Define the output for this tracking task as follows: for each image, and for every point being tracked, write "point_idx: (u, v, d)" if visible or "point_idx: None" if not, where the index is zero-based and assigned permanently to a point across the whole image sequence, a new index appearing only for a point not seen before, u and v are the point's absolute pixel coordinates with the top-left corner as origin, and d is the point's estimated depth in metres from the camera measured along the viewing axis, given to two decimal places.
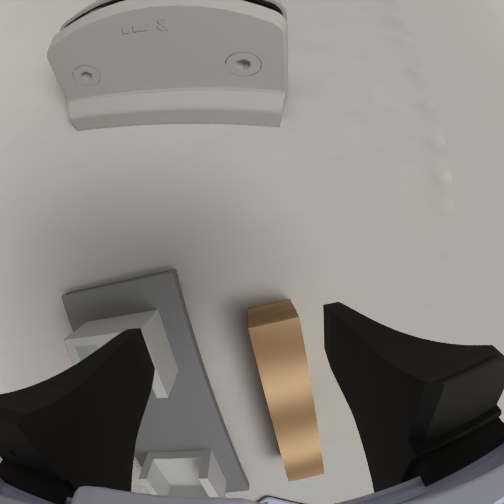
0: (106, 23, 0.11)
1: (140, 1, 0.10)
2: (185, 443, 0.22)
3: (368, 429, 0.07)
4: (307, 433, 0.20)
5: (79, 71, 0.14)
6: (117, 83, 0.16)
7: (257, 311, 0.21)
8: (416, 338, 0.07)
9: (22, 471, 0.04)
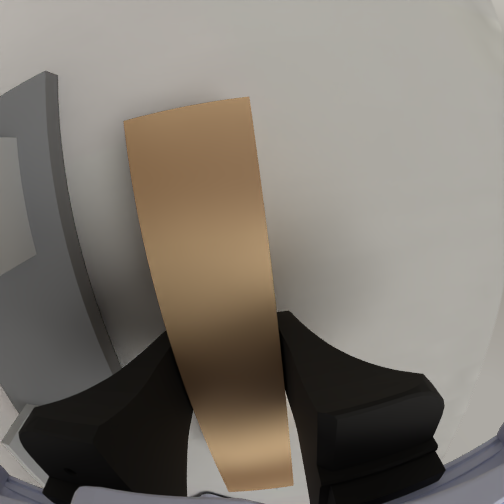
0: None
1: None
2: None
3: (302, 444, 0.07)
4: (262, 415, 0.09)
5: None
6: None
7: None
8: (348, 356, 0.07)
9: None
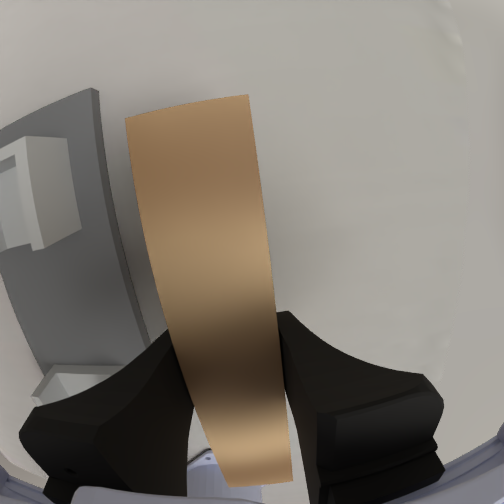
0: None
1: None
2: (93, 352, 0.17)
3: (302, 444, 0.07)
4: (262, 410, 0.10)
5: None
6: None
7: None
8: (347, 356, 0.07)
9: None
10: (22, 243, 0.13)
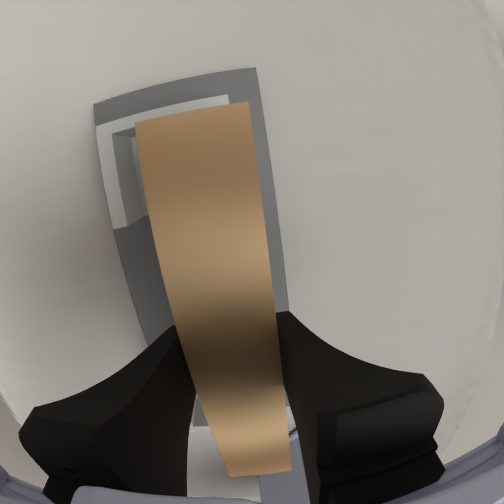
0: None
1: None
2: None
3: (302, 444, 0.07)
4: (261, 397, 0.10)
5: None
6: None
7: None
8: (347, 356, 0.07)
9: None
10: None
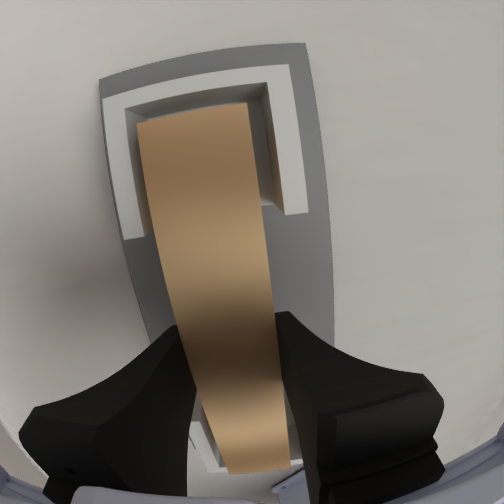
0: None
1: None
2: None
3: (302, 444, 0.07)
4: (260, 393, 0.11)
5: None
6: None
7: None
8: (347, 356, 0.07)
9: None
10: None
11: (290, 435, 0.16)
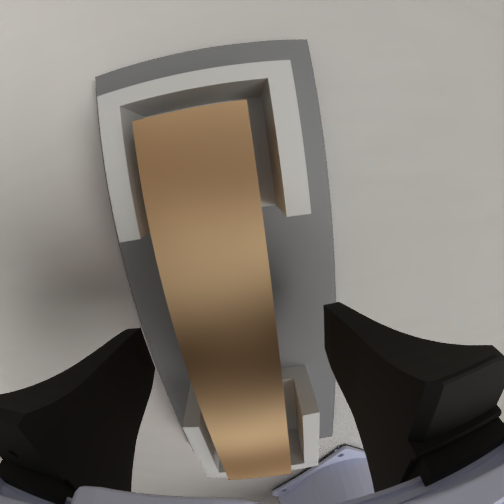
0: None
1: None
2: None
3: (368, 429, 0.07)
4: (260, 399, 0.10)
5: None
6: None
7: None
8: (416, 338, 0.07)
9: (22, 471, 0.04)
10: None
11: (291, 439, 0.15)
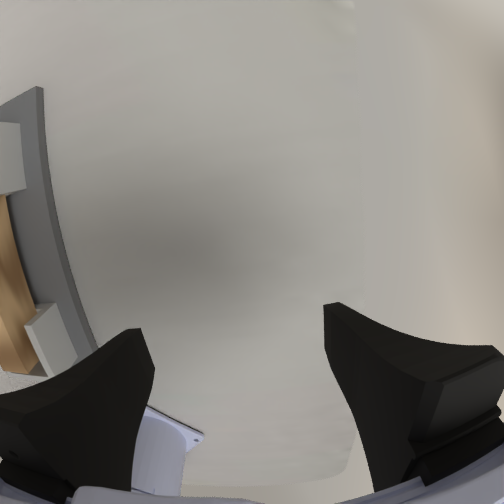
0: None
1: None
2: (33, 292, 0.19)
3: (368, 429, 0.07)
4: None
5: None
6: None
7: None
8: (416, 338, 0.07)
9: (22, 471, 0.04)
10: None
11: None
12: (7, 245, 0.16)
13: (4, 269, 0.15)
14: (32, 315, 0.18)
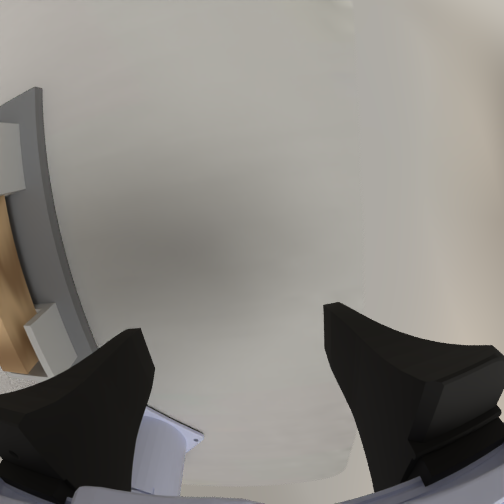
0: None
1: None
2: (33, 292, 0.19)
3: (368, 429, 0.07)
4: None
5: None
6: None
7: None
8: (416, 338, 0.07)
9: (22, 471, 0.04)
10: None
11: None
12: (6, 245, 0.16)
13: (3, 269, 0.15)
14: (32, 315, 0.18)
